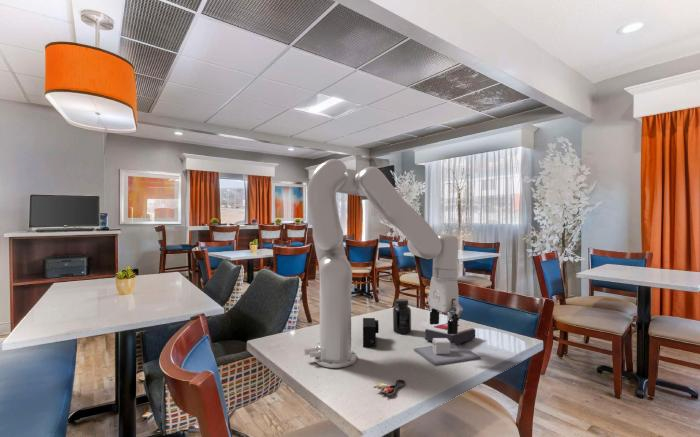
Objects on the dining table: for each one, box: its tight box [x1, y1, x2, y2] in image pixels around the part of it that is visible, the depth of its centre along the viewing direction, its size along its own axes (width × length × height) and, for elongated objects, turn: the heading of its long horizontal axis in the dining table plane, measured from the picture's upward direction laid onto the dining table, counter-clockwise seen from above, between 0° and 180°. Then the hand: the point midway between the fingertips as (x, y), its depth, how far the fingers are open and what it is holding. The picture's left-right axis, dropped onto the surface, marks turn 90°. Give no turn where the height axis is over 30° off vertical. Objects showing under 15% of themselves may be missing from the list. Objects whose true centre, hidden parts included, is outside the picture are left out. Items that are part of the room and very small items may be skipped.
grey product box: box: [424, 322, 476, 346], centre depth 115 cm, size 11×4×15 cm
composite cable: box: [372, 379, 406, 399], centre depth 80 cm, size 10×5×2 cm, turn 127°
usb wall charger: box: [432, 338, 458, 354], centre depth 102 cm, size 4×7×4 cm, turn 91°
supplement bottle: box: [392, 298, 412, 335], centre depth 124 cm, size 7×7×12 cm
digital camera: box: [362, 317, 380, 349], centre depth 113 cm, size 10×5×7 cm, turn 178°
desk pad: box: [413, 344, 481, 366], centre depth 102 cm, size 16×12×1 cm
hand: (442, 328), depth 102 cm, fingers open, 9 cm apart
